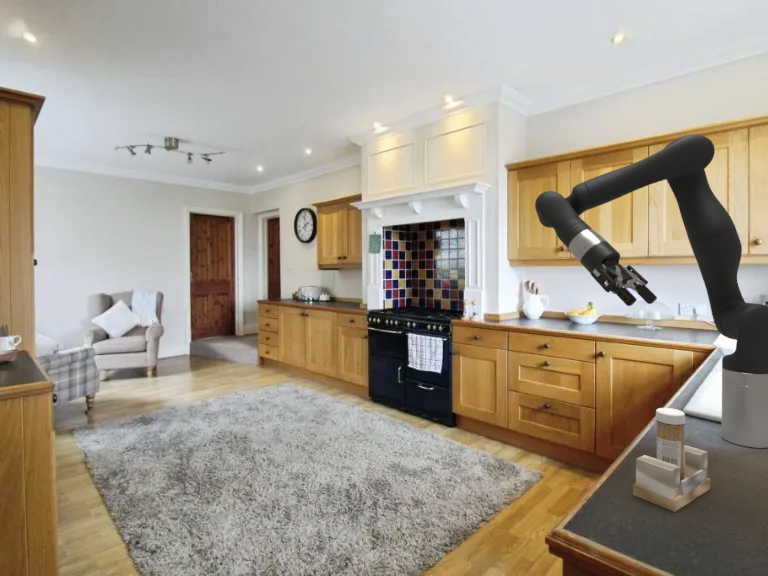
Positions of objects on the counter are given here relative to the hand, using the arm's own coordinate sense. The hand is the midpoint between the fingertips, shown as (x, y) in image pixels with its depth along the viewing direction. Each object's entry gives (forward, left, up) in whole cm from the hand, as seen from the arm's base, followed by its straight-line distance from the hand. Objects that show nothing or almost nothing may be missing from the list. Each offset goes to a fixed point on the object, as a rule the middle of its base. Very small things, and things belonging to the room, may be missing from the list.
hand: (643, 302), depth 94 cm
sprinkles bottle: (+10, +10, -33) cm, 36 cm away
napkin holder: (+10, +10, -35) cm, 37 cm away
